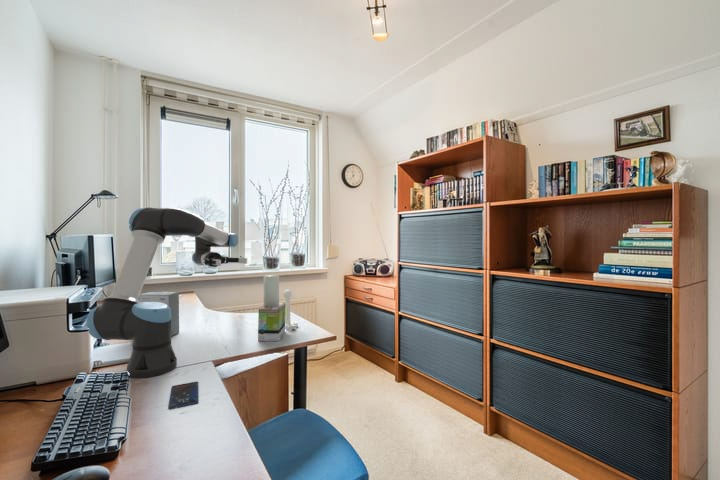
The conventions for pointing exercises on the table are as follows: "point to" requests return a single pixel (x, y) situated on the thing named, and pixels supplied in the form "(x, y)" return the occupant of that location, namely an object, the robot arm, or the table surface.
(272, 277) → the canister
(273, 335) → the tea box
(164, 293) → the hard drive box
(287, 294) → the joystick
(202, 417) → the table surface
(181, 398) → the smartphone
